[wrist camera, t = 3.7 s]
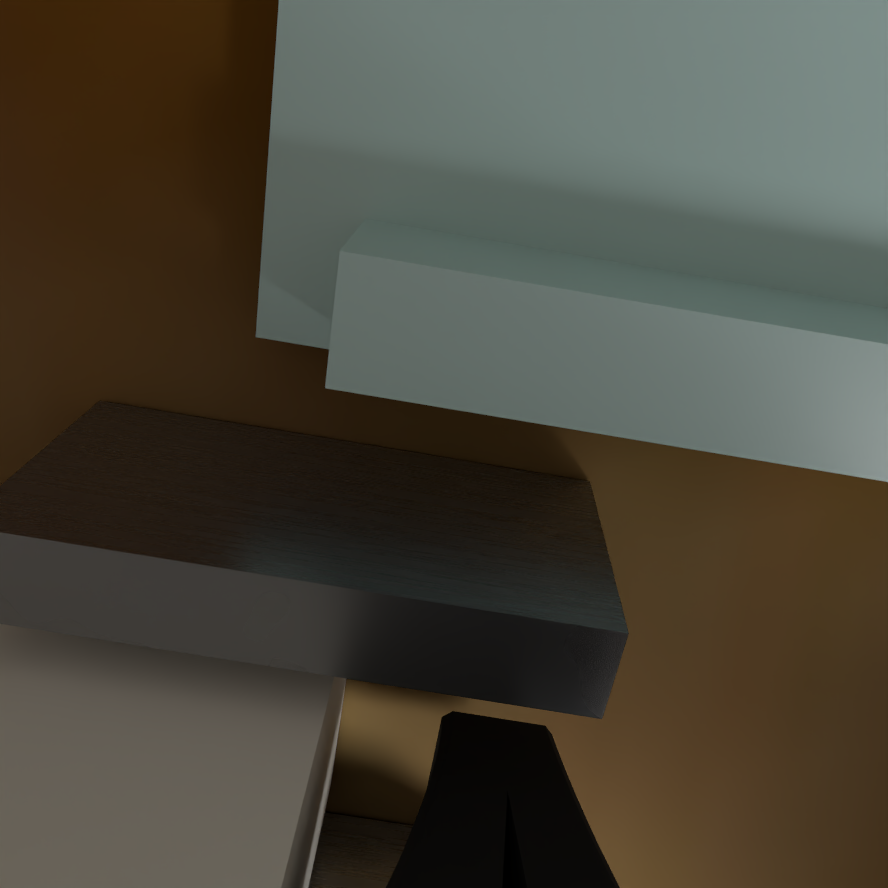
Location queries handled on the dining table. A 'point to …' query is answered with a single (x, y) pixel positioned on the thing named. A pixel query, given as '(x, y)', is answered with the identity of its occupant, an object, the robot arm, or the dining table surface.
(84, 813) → the white block
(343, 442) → the channel
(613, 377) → the cradle
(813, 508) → the dining table surface
